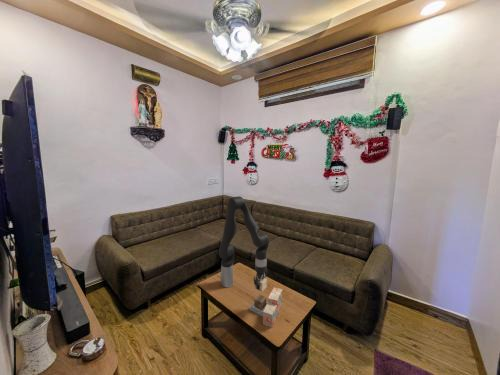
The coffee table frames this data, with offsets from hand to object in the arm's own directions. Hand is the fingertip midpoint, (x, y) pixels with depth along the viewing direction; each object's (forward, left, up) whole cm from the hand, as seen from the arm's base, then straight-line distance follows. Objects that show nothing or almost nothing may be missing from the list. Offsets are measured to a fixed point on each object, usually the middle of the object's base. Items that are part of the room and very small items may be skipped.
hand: (260, 286), depth 140 cm
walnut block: (0, 0, -15) cm, 15 cm away
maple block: (0, 0, -1) cm, 1 cm away
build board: (0, 0, -16) cm, 16 cm away
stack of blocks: (+10, 0, -16) cm, 19 cm away
